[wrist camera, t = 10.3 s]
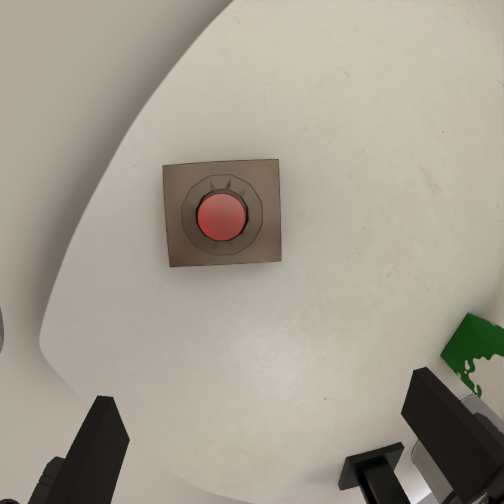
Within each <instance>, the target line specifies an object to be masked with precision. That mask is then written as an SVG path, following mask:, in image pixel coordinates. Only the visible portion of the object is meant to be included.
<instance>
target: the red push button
mask: <svg viewBox="0 0 504 504" xmlns="http://www.w3.org/2000/svg"><path fill="white" fill-rule="evenodd" d="M198 223H199V226H200V228H201V230H202V231H203V233H204V234H205V235H207V236H208V237H210V238H212V239H214V240H219V241H224V240H229V239H232V238H233V237H235V236H236V235H238V234H239V233H240V231H241V230H242V228H243V226H244V223H245V211H244V208H243V206H242V204H241V203H240V201H239V200H238V199H237V198H236V197H234V196H233V195H230V194H227V193H217V194H214V195H212V196H210V197H208V198H207V199H206V200H205V201H204V202H203V203H202V204H201V206H200V208H199V211H198Z"/></svg>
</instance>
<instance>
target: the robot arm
mask: <svg viewBox="0 0 504 504" xmlns="http://www.w3.org/2000/svg"><path fill="white" fill-rule="evenodd" d="M401 415H402V416H403V417H404V419H405V420H406V422H407V423H408V424H409V426H410V427H411V429H412V430H413V432H414V433H415V434H416V436H417V437H418V439H419V440H420V442H421V443H422V444H423V446H424V447H425V449H426V450H427V452H428V453H429V455H430V456H431V457H432V459H433V460H434V462H435V463H436V465H437V466H438V468H439V469H440V471H441V472H442V473H443V475H444V476H445V478H446V479H447V481H448V482H449V484H450V485H451V487H452V488H453V490H454V491H455V493H456V494H457V496H458V497H459V499H460V500H461V502H462V503H463V504H468V503H470V502H471V501H473V500H474V499H476V498H478V497H479V495H480V494H481V493H482V492H483V491H484V490H486V491H487V494H486V495H485V496H484V497H483V498H482V499H481V500H480V502H479V503H478V504H482V503H483V502H484V504H504V434H503V433H502V432H501V431H499V429H498V428H497V427H496V426H495V425H493V423H492V422H491V421H490V420H489V419H488V418H487V417H486V416H484V415H482V414H480V413H478V412H476V413H474V414H472V413H471V412H470V411H469V410H468V409H467V408H466V406H465V405H464V404H463V403H462V402H461V401H460V400H459V399H458V398H457V397H456V396H455V395H454V394H453V393H452V392H451V391H450V390H449V389H448V388H447V387H446V386H445V385H444V384H443V383H442V382H441V381H440V380H439V379H438V378H437V377H436V376H435V375H434V374H433V373H432V372H431V371H430V370H429V369H428V368H427V367H423V368H420V369H416V370H413V374H412V378H411V381H410V385H409V389H408V392H407V395H406V399H405V402H404V405H403V408H402V411H401ZM129 441H130V439H129V436H128V434H127V432H126V429H125V427H124V424H123V422H122V419H121V417H120V414H119V412H118V409H117V406H116V404H115V401H114V398H113V397H108V396H98V395H97V397H96V399H95V401H94V403H93V405H92V407H91V408H90V410H89V412H88V414H87V416H86V418H85V420H84V422H83V424H82V426H81V428H80V430H79V432H78V434H77V435H76V438H75V440H74V441H73V444H72V445H71V447H70V450H69V452H68V454H67V456H66V458H65V459H64V458H60V457H57V456H56V457H54V458H53V459H52V460H51V461H50V462H49V463H48V464H47V465H46V467H45V469H44V471H43V475H41V477H40V479H39V483H38V484H37V486H36V487H35V489H34V491H33V494H32V496H31V498H30V500H29V502H28V504H111V500H112V497H113V493H114V490H115V486H116V483H117V479H118V476H119V473H120V469H121V466H122V463H123V460H124V456H125V453H126V450H127V447H128V444H129ZM0 504H19V503H18V502H17V501H15V500H12V499H4V500H1V501H0Z"/></svg>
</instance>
